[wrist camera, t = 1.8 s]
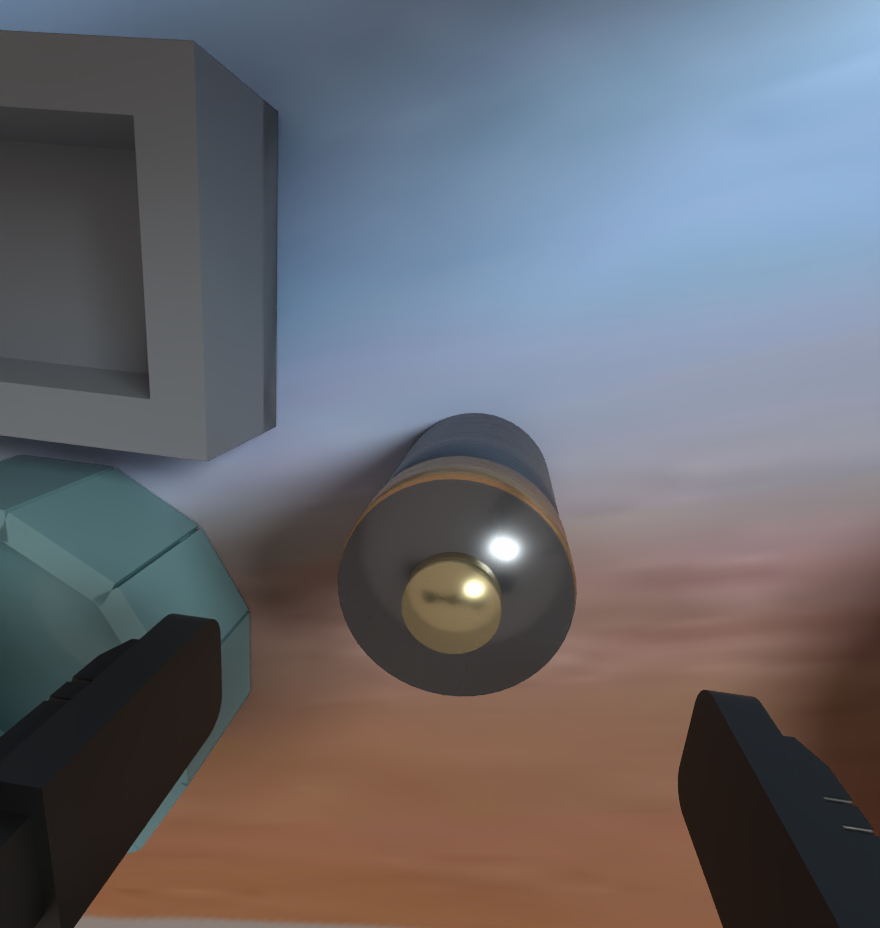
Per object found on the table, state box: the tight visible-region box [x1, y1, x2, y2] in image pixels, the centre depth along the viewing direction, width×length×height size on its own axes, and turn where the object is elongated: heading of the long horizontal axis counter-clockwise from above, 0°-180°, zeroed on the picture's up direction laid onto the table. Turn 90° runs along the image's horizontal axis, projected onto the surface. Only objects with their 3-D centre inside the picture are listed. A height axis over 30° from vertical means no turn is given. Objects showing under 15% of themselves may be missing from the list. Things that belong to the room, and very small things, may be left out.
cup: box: [0, 455, 250, 854], centre depth 20 cm, size 14×14×4 cm
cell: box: [338, 413, 577, 696], centre depth 15 cm, size 5×5×8 cm
